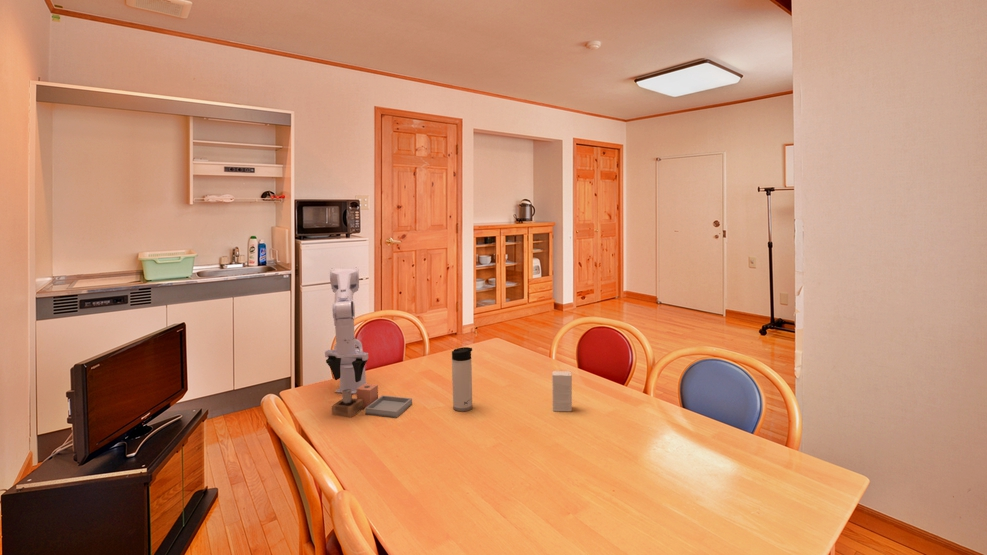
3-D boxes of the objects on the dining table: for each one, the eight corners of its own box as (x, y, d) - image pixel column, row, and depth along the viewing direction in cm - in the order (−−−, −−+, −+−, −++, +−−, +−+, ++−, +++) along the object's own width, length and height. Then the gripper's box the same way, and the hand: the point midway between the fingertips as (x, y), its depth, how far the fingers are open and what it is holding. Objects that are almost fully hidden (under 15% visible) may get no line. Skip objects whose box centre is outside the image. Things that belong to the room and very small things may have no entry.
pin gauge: (346, 409, 155) (345, 388, 154) (354, 410, 154) (353, 389, 153) (341, 412, 152) (340, 392, 151) (349, 413, 152) (348, 392, 151)
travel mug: (470, 412, 151) (469, 351, 149) (450, 411, 153) (449, 350, 150) (475, 404, 157) (474, 345, 155) (456, 403, 159) (454, 345, 156)
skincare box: (570, 406, 155) (571, 371, 153) (571, 412, 151) (572, 375, 149) (552, 406, 155) (552, 370, 154) (552, 411, 151) (552, 375, 150)
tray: (382, 400, 162) (382, 395, 161) (412, 404, 158) (412, 398, 158) (365, 414, 151) (364, 408, 151) (396, 417, 148) (396, 411, 148)
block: (365, 400, 162) (364, 383, 161) (378, 402, 161) (377, 384, 160) (357, 406, 158) (356, 388, 157) (370, 407, 156) (369, 390, 155)
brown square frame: (345, 406, 158) (344, 397, 157) (363, 408, 156) (363, 399, 155) (332, 414, 151) (331, 405, 151) (351, 417, 149) (351, 408, 149)
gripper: (317, 340, 149) (320, 382, 151) (358, 343, 145) (361, 386, 147) (331, 334, 155) (334, 374, 157) (370, 337, 151) (373, 378, 153)
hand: (347, 380), depth 152 cm, fingers open, 7 cm apart
